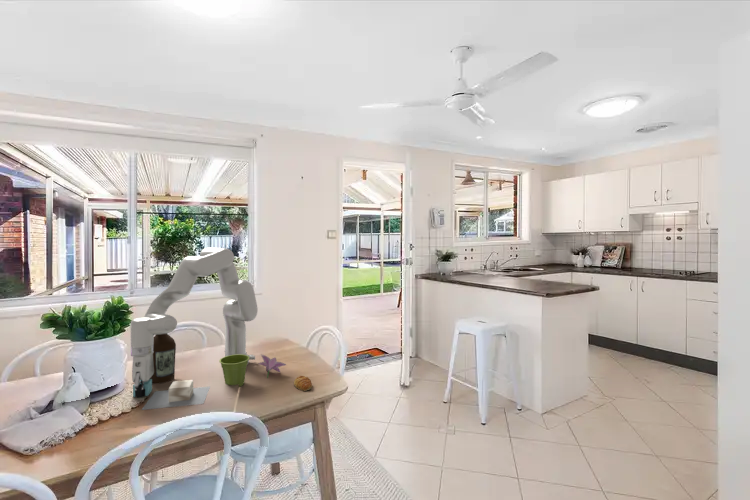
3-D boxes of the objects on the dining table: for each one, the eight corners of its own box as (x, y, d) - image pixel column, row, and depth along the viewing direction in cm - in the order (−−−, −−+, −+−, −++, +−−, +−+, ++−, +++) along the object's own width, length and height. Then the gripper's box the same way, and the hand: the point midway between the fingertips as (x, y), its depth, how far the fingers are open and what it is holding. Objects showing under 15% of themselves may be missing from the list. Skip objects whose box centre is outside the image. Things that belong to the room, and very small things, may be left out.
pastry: (316, 389, 153) (316, 380, 153) (300, 393, 149) (300, 384, 149) (306, 382, 160) (306, 373, 160) (292, 385, 157) (292, 376, 156)
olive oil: (143, 382, 157) (143, 324, 156) (170, 375, 165) (170, 320, 164) (152, 389, 150) (152, 328, 149) (180, 382, 158) (179, 324, 157)
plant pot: (219, 381, 159) (219, 356, 158) (248, 378, 163) (248, 353, 163) (219, 392, 148) (219, 365, 148) (250, 388, 153) (250, 361, 152)
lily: (288, 378, 166) (290, 357, 171) (267, 375, 158) (270, 352, 162) (270, 381, 172) (272, 360, 177) (249, 378, 164) (252, 356, 168)
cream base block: (193, 392, 144) (193, 379, 144) (189, 400, 138) (189, 386, 138) (173, 394, 143) (173, 381, 142) (168, 402, 136) (168, 388, 136)
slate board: (210, 390, 150) (210, 386, 150) (203, 407, 135) (203, 403, 135) (155, 395, 145) (155, 391, 145) (141, 414, 130) (141, 409, 130)
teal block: (152, 393, 146) (151, 379, 146) (148, 399, 141) (147, 383, 141) (137, 395, 145) (137, 380, 144) (133, 400, 140) (132, 385, 140)
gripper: (146, 356, 135) (146, 405, 136) (159, 343, 151) (160, 386, 152) (122, 357, 133) (123, 407, 134) (138, 344, 149) (139, 388, 150)
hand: (142, 396), depth 143 cm, fingers closed on teal block, 5 cm apart
